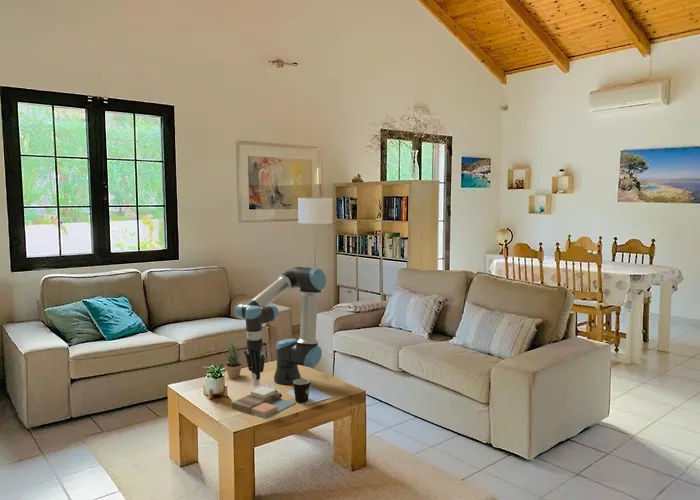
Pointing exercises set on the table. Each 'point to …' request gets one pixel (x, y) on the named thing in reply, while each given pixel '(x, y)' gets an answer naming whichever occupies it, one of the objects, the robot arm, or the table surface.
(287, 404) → the slate mat
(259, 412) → the terracotta coaster
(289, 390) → the table surface
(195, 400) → the table surface
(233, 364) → the potted plant
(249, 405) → the walnut board
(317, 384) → the table surface
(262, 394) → the cream coaster
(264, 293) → the robot arm
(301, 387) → the coffee mug
